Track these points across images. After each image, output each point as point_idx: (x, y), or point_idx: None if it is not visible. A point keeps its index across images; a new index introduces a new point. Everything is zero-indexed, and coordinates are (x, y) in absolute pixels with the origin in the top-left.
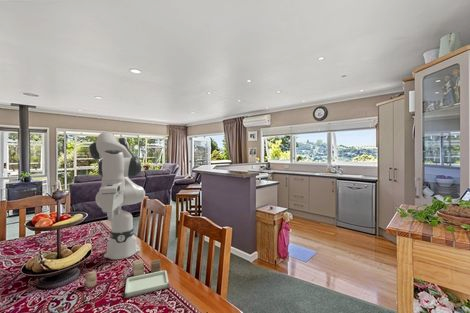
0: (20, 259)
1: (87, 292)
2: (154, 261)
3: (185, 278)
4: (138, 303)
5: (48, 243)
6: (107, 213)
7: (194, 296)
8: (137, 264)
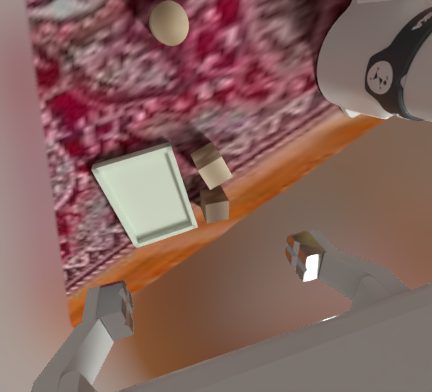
0: None
1: (119, 33)
2: (219, 208)
3: (169, 260)
4: (72, 202)
5: None
6: (37, 387)
7: None
8: (201, 175)
